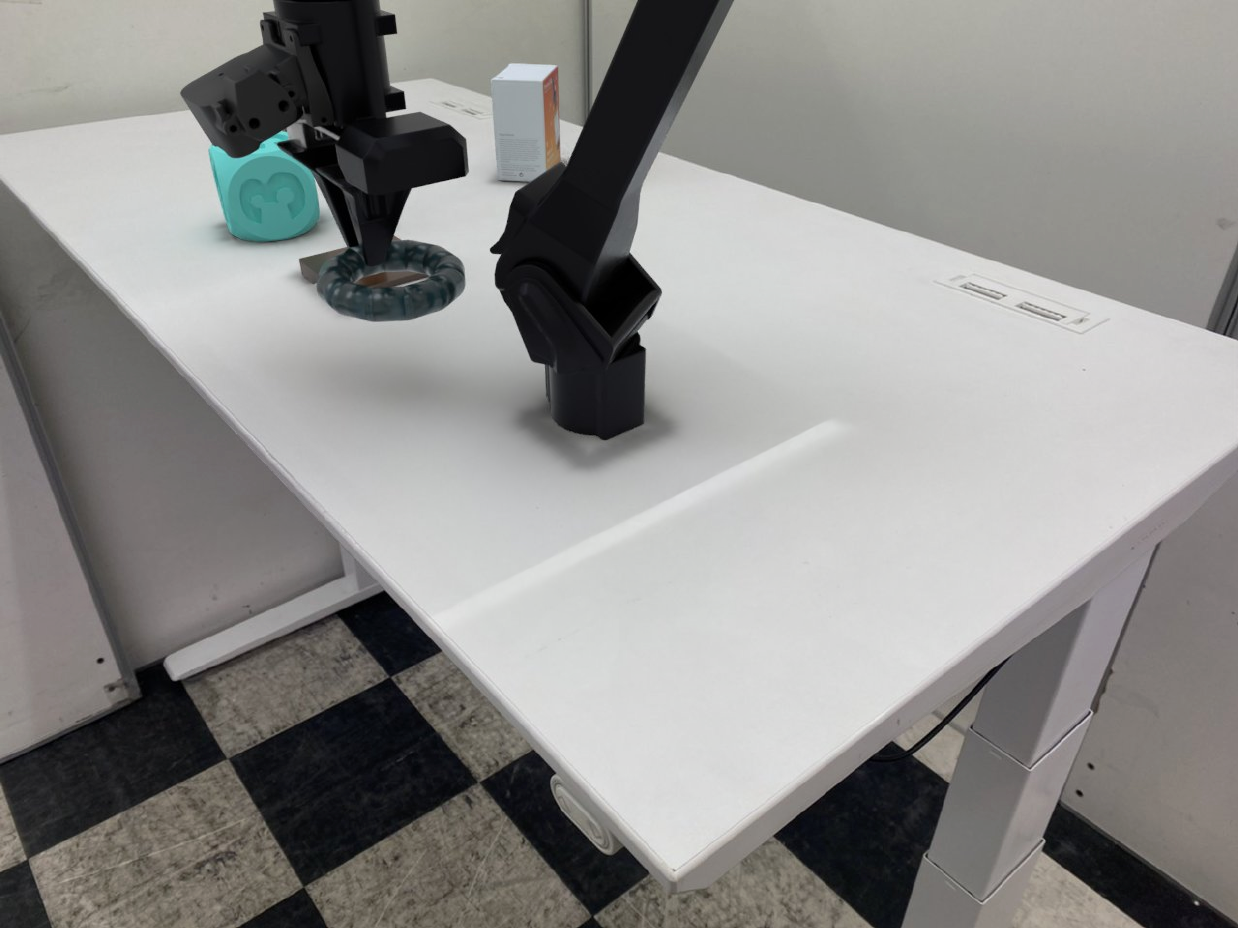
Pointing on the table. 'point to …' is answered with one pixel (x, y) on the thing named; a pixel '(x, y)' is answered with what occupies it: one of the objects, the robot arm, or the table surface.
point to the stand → (385, 279)
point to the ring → (392, 301)
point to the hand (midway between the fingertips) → (367, 259)
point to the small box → (526, 120)
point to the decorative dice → (265, 192)
